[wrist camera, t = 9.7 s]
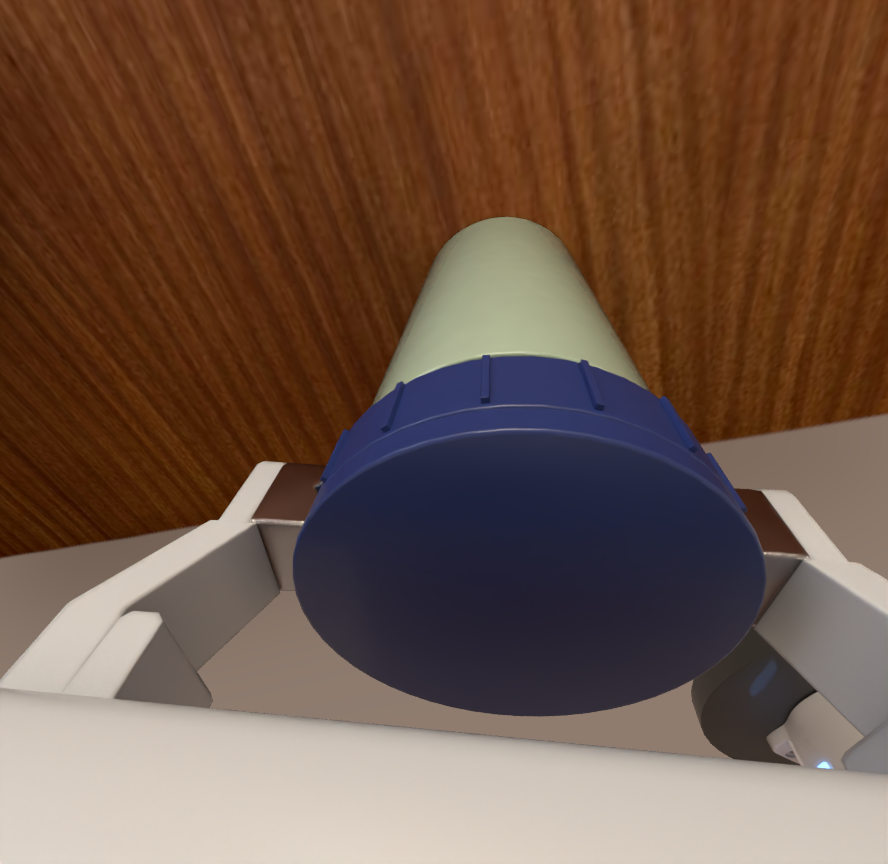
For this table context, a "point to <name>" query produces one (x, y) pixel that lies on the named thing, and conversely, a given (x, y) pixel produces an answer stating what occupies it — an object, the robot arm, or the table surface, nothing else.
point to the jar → (505, 306)
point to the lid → (527, 542)
